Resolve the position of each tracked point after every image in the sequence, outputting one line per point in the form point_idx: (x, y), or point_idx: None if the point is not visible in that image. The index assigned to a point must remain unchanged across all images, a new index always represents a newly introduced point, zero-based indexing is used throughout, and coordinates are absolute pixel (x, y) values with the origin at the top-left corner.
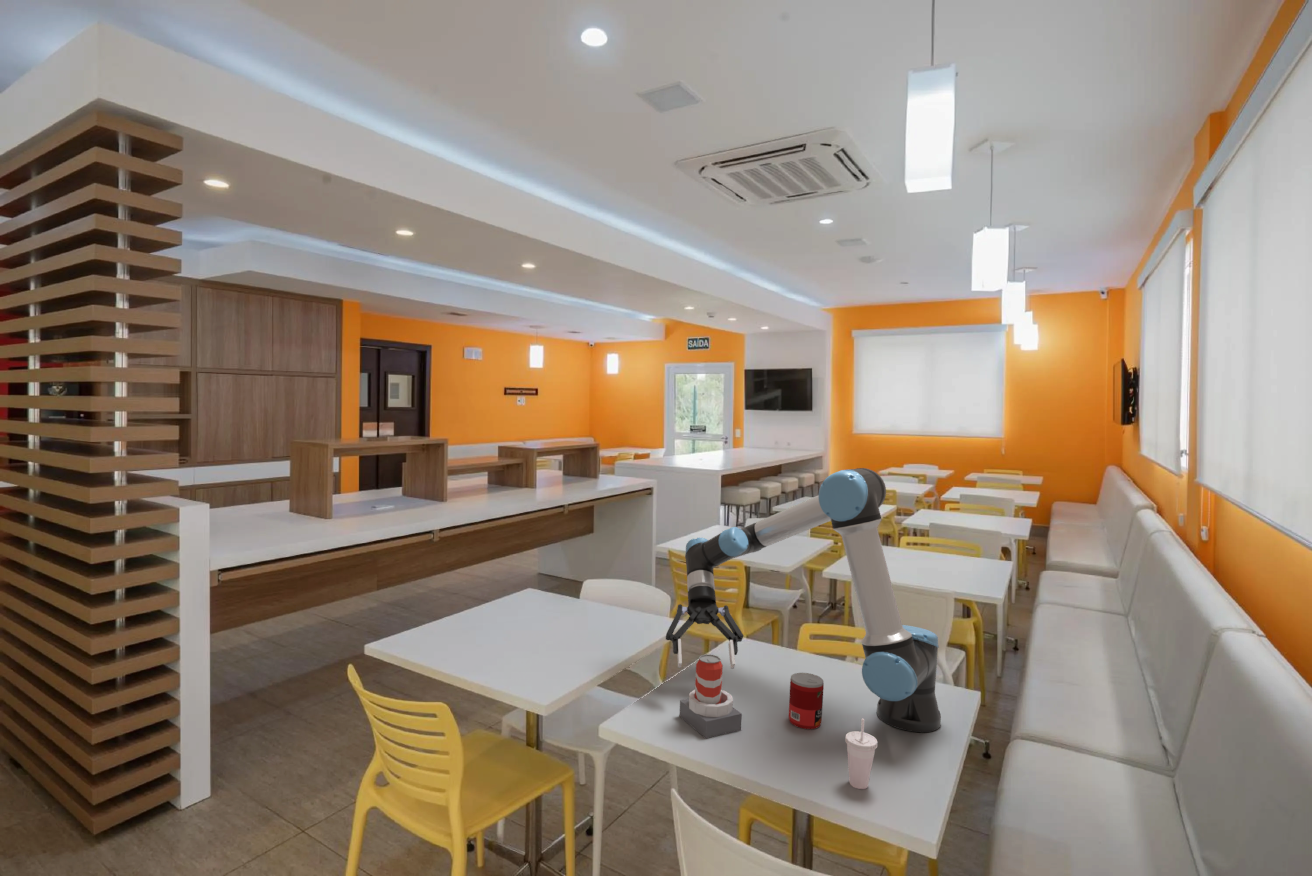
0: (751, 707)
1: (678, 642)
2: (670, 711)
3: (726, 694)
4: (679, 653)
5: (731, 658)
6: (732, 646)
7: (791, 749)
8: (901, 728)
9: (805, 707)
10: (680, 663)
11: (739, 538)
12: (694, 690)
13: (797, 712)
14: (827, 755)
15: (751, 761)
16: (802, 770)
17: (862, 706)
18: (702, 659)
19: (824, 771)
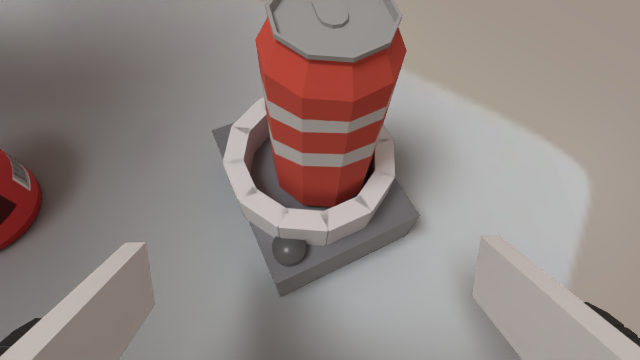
0: None
1: (622, 337)
2: (436, 272)
3: (242, 170)
4: (536, 270)
5: (125, 276)
6: (41, 328)
7: (126, 81)
8: None
9: None
10: (489, 238)
11: None
12: (373, 200)
13: (3, 153)
14: (52, 61)
15: (242, 43)
16: (146, 19)
17: None
18: (377, 21)
19: (101, 16)
